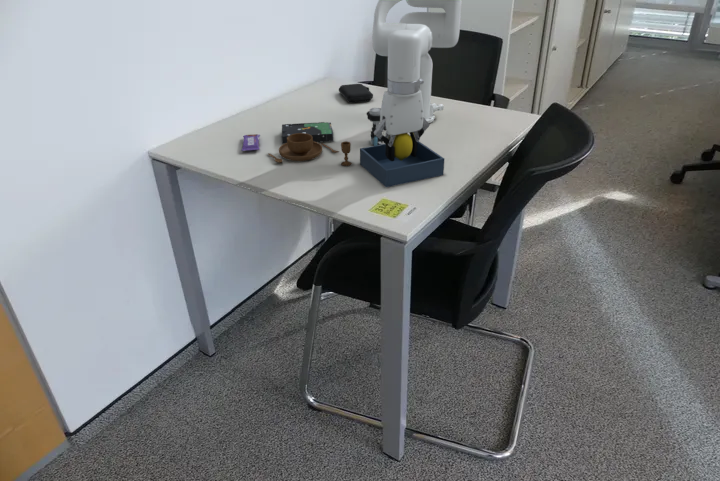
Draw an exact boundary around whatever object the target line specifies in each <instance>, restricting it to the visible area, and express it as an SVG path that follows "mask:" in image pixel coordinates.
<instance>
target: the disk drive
mask: <svg viewBox="0 0 720 481" xmlns="http://www.w3.org/2000/svg"><path fill="white" fill-rule="evenodd" d="M296 133H306V134H310V135H311V136H312V137H313V141H314V142H317V143H319V144H320V143H329V142H330V143H331V142H334V130H333V126H332V121H331V122H329V121H328V122H327V121H326V122H324V121H321V122H320V121H319V122H300V123H282V124H281V142H282V144H281V145H283V144H285V143H287V137H288V136H290V135H292V134H296Z"/></svg>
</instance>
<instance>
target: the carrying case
mask: <svg viewBox="0 0 720 481" xmlns="http://www.w3.org/2000/svg"><path fill="white" fill-rule="evenodd" d="M338 92H339V93H340V94H341V96H343V98H344V99H345V100H346V101H347V102H348V103H351V104H354V103H364V102H370V101H372V100H373V98H374V93H372V92H371V91H370V88H369V87H368V86H365V85H363V84H362V83H351V84H341V85H340V86H339V88H338Z"/></svg>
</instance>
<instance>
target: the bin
mask: <svg viewBox="0 0 720 481" xmlns="http://www.w3.org/2000/svg"><path fill="white" fill-rule="evenodd" d="M359 165H360V166H361V167H362V168H363V169H364V170H366V171H367V172H368V173H369V174H370V175H371V176H372V177H374V178H375V179H376V181H378V182H379V183H380V184H382V185H383V186H384V188H390V187H395V186H400V185H404V184H409V183H413V182H417V181H423V180H428V179H431V178H436V177H440V176H441V177H442V176H444V172H445V171H444V169H445V157H443V156H442V155H440V154H439V153H438V152H435V151H434V150H432V149H431V148H430V147H428V146H427V145H426V144H424V143H422V142H421V141H420V140H419V141H418V144H417V152H416V157H413V156H412V155H409V156H408V157H407V158H405V159H403V160H402V161H400V160H399V159H398V158H396V157H395V156H394V161H390V160H389V159H388V158H387V157H386V155H385V143H382V144H381V145H376V146H374V145H372V146H366V147H361V148H359Z"/></svg>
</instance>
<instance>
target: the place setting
mask: <svg viewBox="0 0 720 481" xmlns="http://www.w3.org/2000/svg"><path fill="white" fill-rule="evenodd" d="M323 146H324V147H325V148H327V149H328V150H331V153H334V154H337V153H340V151H338V150H335V149H333V148H332V147H330V146H329V145H326V144H324V142H319V143H317V142H314V141H313V137H312V136H311V135H310V134H306V133H296V134H292V135H290V136H288V137H287V143H285V144H281V145H280V146H279V147H278V153H279V155H280V156H281V157H282V158H283V159H285V160H288V161H291V162H307V161H311V160H314V159H316V158H318V157H320V155H321V154H322V152H323ZM340 147H341V148H340V149H341V153H342V154H344V157H343V158H344V161H341V163H340V165H341V166H342V167H350V166H352V165H353V163H352V162H351V161H349V156H348V155H349V153H351V150H352V148H351V142H350V141H347V140H346V141H342V142H340ZM267 155H269V157H272V158H273V159H274V162H276V163H278V164H280V163H283V159H282V158H279V157H276V156H274V155H273V154H271V153H267Z"/></svg>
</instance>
